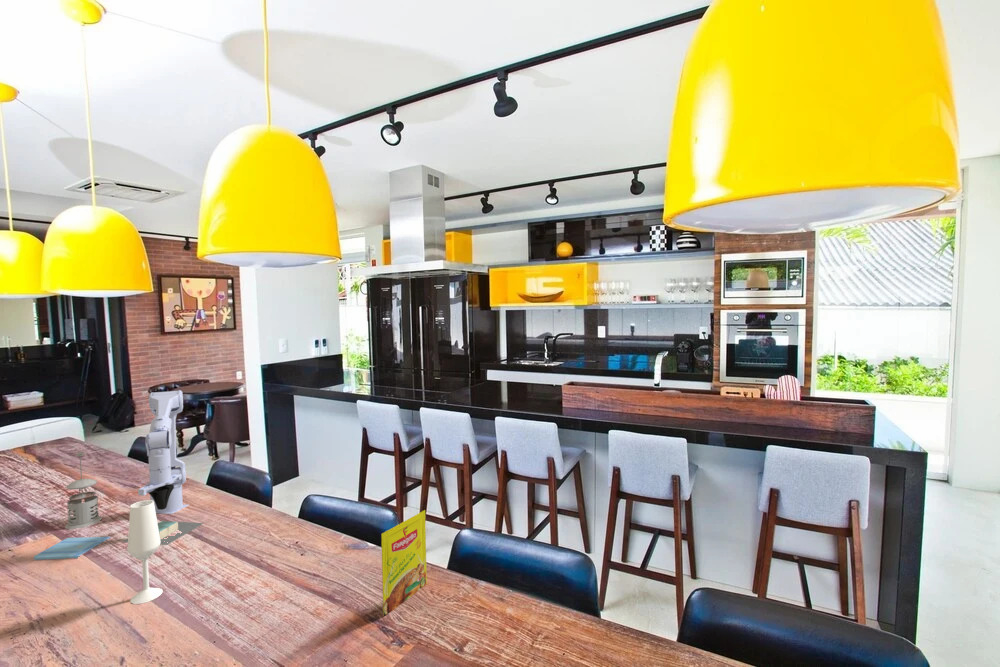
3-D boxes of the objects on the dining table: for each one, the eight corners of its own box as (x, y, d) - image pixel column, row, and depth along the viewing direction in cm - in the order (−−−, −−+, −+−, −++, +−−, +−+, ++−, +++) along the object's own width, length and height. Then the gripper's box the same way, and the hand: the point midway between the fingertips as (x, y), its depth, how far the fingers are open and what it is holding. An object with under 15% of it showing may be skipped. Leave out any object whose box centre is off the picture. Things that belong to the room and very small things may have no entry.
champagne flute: (123, 600, 117) (118, 507, 116) (151, 585, 123) (147, 497, 122) (141, 606, 114) (136, 510, 113) (169, 590, 121) (164, 500, 120)
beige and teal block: (162, 528, 155) (143, 538, 148) (161, 520, 155) (143, 530, 148) (178, 529, 155) (160, 539, 148) (177, 521, 154) (159, 531, 148)
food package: (385, 617, 109) (382, 534, 108) (381, 616, 109) (379, 533, 109) (428, 584, 122) (426, 510, 121) (425, 583, 122) (423, 509, 122)
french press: (64, 532, 155) (59, 458, 154) (65, 520, 164) (61, 450, 163) (102, 523, 162) (98, 452, 160) (102, 512, 170) (98, 445, 169)
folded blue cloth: (31, 561, 138) (31, 557, 137) (67, 541, 150) (67, 537, 149) (78, 560, 138) (78, 555, 138) (110, 540, 150) (110, 536, 150)
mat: (121, 543, 146) (121, 542, 146) (162, 522, 161) (162, 520, 161) (166, 546, 144) (166, 544, 144) (203, 524, 159) (203, 523, 159)
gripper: (151, 476, 144) (153, 519, 144) (188, 461, 158) (190, 500, 159) (131, 475, 145) (133, 518, 145) (170, 460, 159) (172, 499, 160)
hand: (162, 508), depth 152 cm, fingers closed
